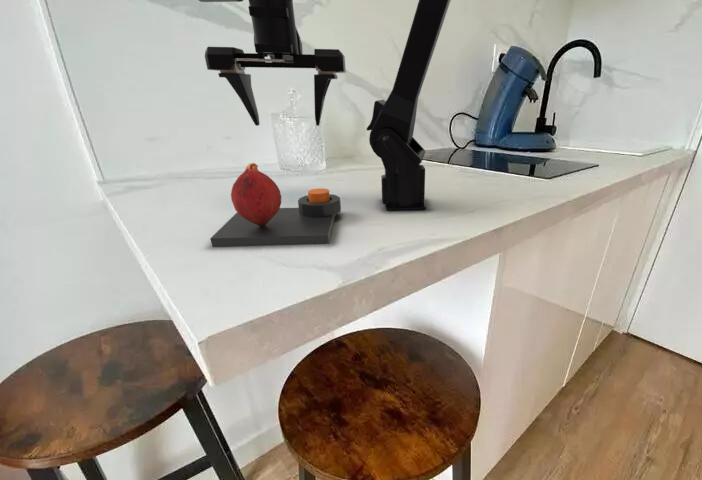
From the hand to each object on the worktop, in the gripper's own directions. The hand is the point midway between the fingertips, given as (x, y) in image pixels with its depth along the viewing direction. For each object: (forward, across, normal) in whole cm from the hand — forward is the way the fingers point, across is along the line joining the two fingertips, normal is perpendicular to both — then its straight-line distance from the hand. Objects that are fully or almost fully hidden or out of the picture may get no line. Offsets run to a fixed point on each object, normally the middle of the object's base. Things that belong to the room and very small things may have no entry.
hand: (288, 125), depth 57 cm
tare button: (+9, -5, +10) cm, 15 cm away
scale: (+12, 0, +14) cm, 18 cm away
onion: (+11, +2, +16) cm, 19 cm away
